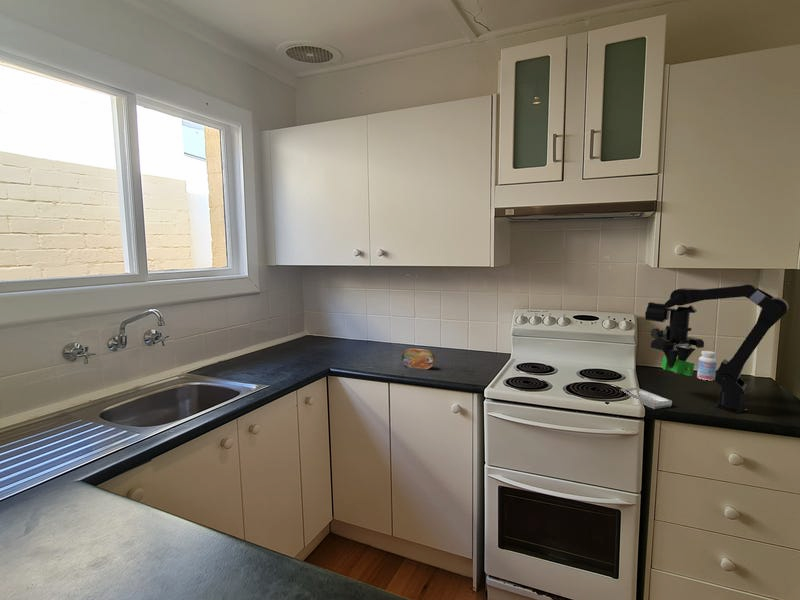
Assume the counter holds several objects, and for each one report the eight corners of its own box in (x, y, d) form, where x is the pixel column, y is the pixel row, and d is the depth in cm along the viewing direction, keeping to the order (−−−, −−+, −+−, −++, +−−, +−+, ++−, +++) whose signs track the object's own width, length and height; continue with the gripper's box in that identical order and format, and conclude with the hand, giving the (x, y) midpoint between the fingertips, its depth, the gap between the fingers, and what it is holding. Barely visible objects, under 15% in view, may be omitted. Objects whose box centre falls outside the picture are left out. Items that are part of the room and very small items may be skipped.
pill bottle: (699, 380, 177) (701, 353, 176) (695, 376, 183) (697, 349, 181) (716, 382, 175) (719, 354, 174) (712, 377, 181) (715, 351, 179)
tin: (401, 366, 195) (401, 347, 194) (404, 364, 198) (404, 346, 197) (433, 370, 188) (433, 351, 187) (435, 369, 191) (436, 350, 190)
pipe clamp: (655, 367, 161) (658, 355, 161) (663, 368, 162) (665, 356, 162) (684, 375, 150) (686, 362, 150) (692, 376, 152) (694, 363, 151)
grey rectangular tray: (671, 406, 148) (671, 400, 148) (654, 409, 145) (654, 403, 145) (635, 392, 162) (636, 387, 161) (619, 394, 159) (620, 389, 159)
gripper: (678, 319, 165) (674, 359, 167) (639, 321, 159) (636, 363, 161) (706, 324, 154) (702, 367, 156) (666, 327, 148) (662, 372, 150)
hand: (675, 367), depth 156 cm, fingers closed on pipe clamp, 4 cm apart
